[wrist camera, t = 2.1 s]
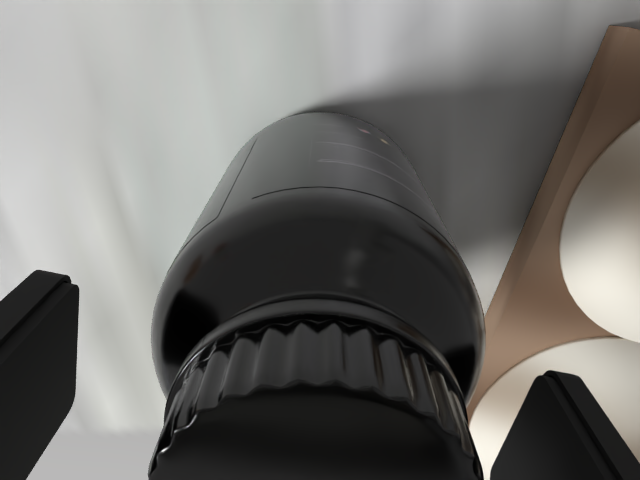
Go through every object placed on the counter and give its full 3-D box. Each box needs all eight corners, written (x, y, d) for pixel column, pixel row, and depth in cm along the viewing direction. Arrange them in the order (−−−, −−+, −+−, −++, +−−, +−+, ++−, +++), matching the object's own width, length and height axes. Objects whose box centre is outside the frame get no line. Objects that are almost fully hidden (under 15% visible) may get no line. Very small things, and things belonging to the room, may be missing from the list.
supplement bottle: (351, 319, 20) (372, 703, 9) (191, 234, 19) (-7, 566, 8) (463, 175, 17) (675, 469, 7) (287, 63, 16) (192, 202, 5)
